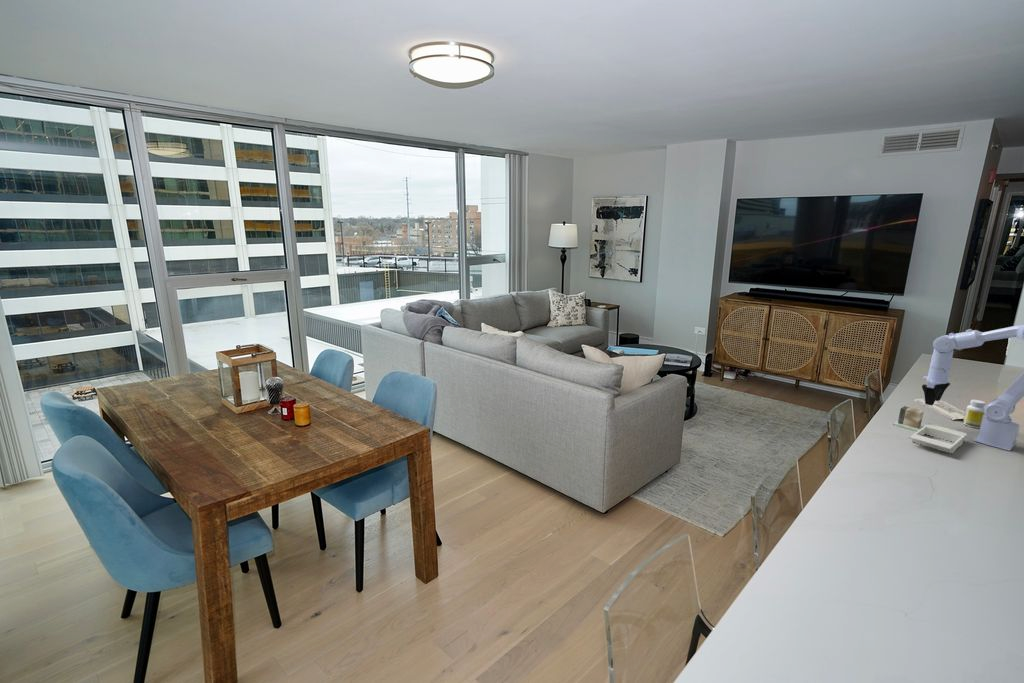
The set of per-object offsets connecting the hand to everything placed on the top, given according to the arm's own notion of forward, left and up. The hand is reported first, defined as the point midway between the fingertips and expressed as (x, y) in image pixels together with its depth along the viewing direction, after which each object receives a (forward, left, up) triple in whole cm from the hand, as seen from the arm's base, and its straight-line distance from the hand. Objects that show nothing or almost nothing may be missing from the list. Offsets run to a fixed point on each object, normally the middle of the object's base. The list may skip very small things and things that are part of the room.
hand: (932, 402), depth 187 cm
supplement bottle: (-10, -14, -10) cm, 20 cm away
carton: (-7, +16, -9) cm, 20 cm away
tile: (+4, +6, -9) cm, 12 cm away
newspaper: (0, -26, -10) cm, 28 cm away
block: (+4, +6, -9) cm, 11 cm away
